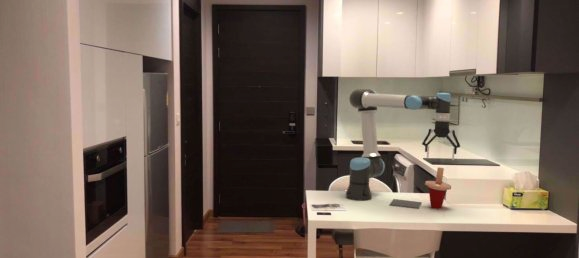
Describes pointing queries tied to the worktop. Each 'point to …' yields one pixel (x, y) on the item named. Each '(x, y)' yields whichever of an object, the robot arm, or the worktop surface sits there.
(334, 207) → the worktop surface
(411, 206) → the mat
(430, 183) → the lid
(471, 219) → the worktop surface
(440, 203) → the plastic cup
